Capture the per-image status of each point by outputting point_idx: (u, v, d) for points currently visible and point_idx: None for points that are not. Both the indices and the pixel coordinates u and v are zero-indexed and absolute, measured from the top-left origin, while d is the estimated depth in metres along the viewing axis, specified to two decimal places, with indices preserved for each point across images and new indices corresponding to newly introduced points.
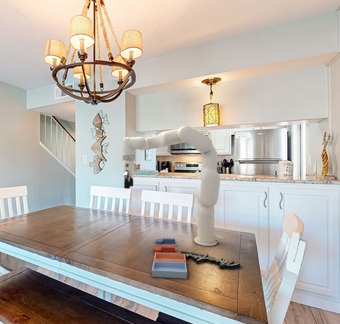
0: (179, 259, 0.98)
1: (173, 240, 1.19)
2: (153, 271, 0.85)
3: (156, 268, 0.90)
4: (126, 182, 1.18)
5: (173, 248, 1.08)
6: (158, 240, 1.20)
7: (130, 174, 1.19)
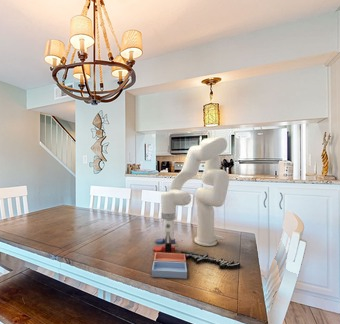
0: (179, 259, 0.98)
1: (173, 240, 1.19)
2: (153, 271, 0.85)
3: (156, 268, 0.90)
4: (168, 245, 1.06)
5: (173, 248, 1.08)
6: (158, 240, 1.20)
7: (172, 236, 1.03)
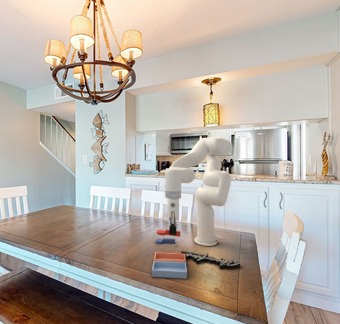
0: (179, 259, 0.98)
1: (173, 240, 1.19)
2: (153, 271, 0.85)
3: (156, 268, 0.90)
4: (172, 227, 0.96)
5: (178, 232, 0.97)
6: (158, 240, 1.20)
7: (177, 217, 0.93)
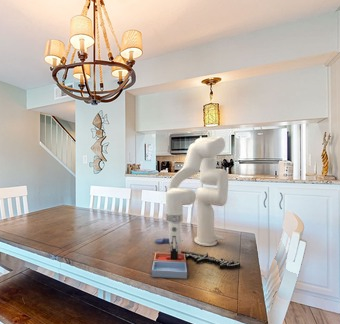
0: None
1: None
2: (153, 271, 0.85)
3: (156, 268, 0.90)
4: (173, 252, 0.93)
5: (179, 258, 0.95)
6: (158, 240, 1.20)
7: (178, 241, 0.91)
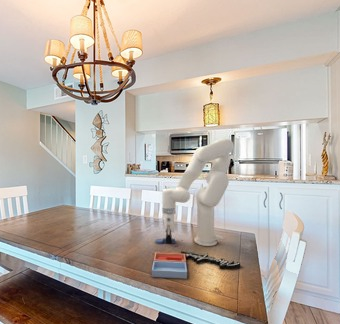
0: None
1: (173, 240, 1.19)
2: (153, 271, 0.85)
3: (156, 268, 0.90)
4: (168, 237, 1.17)
5: (179, 258, 0.95)
6: (158, 240, 1.20)
7: (172, 229, 1.14)
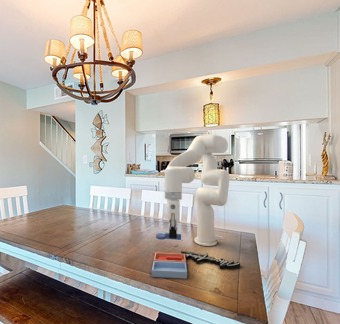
0: None
1: (179, 236, 0.91)
2: (153, 271, 0.85)
3: (156, 268, 0.90)
4: (172, 230, 0.90)
5: (179, 258, 0.95)
6: (159, 235, 0.92)
7: (177, 219, 0.87)
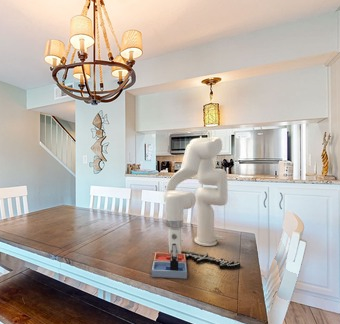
0: None
1: (180, 268, 0.87)
2: (153, 271, 0.85)
3: None
4: (173, 262, 0.83)
5: (179, 258, 0.95)
6: (160, 268, 0.88)
7: (179, 250, 0.83)
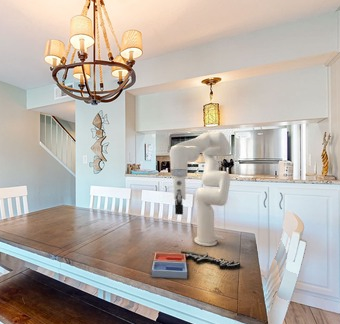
0: None
1: (180, 268, 0.87)
2: (153, 271, 0.85)
3: None
4: (178, 206, 0.88)
5: (179, 258, 0.95)
6: (160, 268, 0.88)
7: (183, 195, 0.89)
